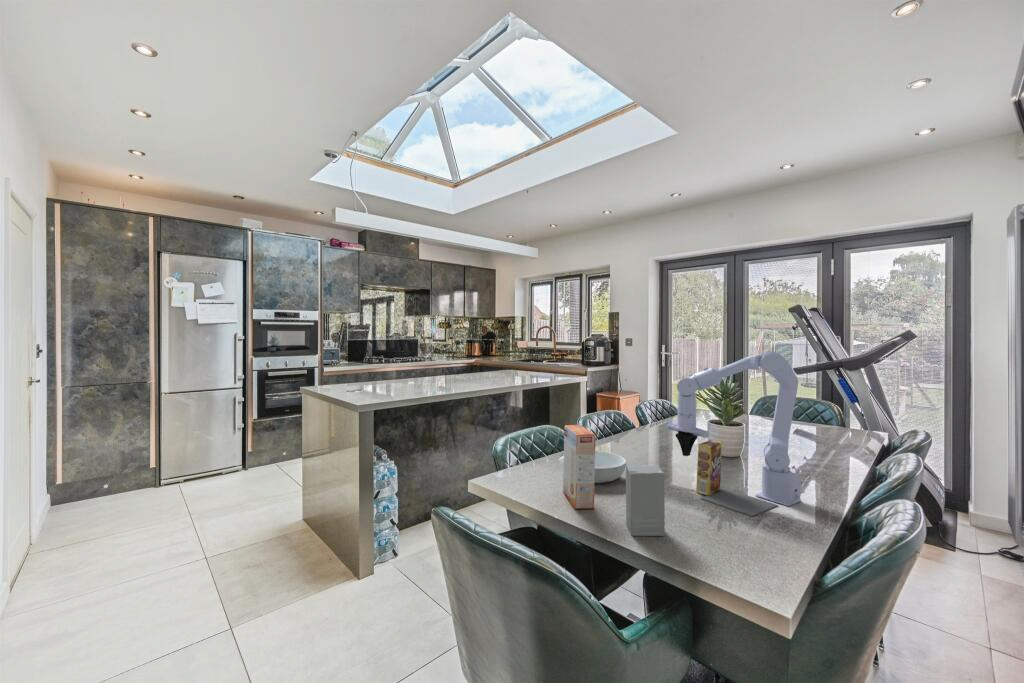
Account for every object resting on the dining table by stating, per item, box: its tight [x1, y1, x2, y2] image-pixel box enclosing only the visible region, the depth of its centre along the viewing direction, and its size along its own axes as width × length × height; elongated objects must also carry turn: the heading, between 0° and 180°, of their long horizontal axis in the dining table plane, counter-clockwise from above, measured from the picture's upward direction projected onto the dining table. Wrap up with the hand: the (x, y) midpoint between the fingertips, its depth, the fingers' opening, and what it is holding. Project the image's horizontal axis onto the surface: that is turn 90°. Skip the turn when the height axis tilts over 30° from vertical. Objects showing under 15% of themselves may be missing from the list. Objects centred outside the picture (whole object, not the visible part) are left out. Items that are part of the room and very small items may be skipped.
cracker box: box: [562, 424, 596, 510], centre depth 126 cm, size 14×6×21 cm, turn 7°
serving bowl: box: [562, 450, 627, 484], centre depth 146 cm, size 21×21×7 cm
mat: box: [700, 488, 779, 517], centre depth 126 cm, size 15×14×1 cm
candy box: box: [696, 439, 723, 496], centre depth 135 cm, size 9×4×15 cm, turn 134°
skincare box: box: [625, 464, 666, 537], centre depth 106 cm, size 8×7×16 cm
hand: (686, 455), depth 142 cm, fingers closed
